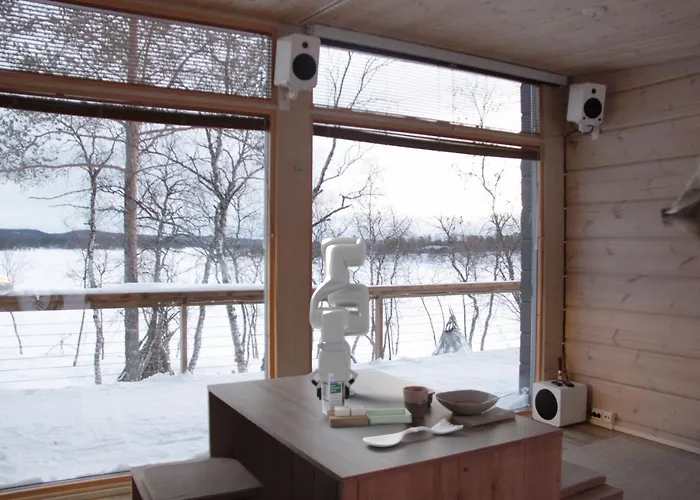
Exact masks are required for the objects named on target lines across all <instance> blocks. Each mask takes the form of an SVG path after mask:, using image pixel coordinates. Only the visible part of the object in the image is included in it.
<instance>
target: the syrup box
mask: <svg viewBox="0 0 700 500" xmlns="http://www.w3.org/2000/svg"><path fill="white" fill-rule="evenodd" d="M333 374H334V373H328V382H323V383H322V385H321V393H322V400H321V403H322V404H321V405H322V408H321V409H322V414H324V415H325V416H327V411H334V407H335V406H345V397H344V382H336V381H334V377H333V376H334V375H333Z"/></svg>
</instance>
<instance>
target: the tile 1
mask: <svg viewBox="0 0 700 500" xmlns="http://www.w3.org/2000/svg"><path fill="white" fill-rule="evenodd" d="M334 413H335V416H350V406H348V405H344V406H335V407H334Z"/></svg>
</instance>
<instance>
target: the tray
mask: <svg viewBox="0 0 700 500" xmlns="http://www.w3.org/2000/svg"><path fill="white" fill-rule="evenodd" d="M365 413H366V414H367V416H368V425H369V426H373V425H377V426H378V425H398V424H412V423H413V415H412V413H411V412H410V411H409V410H408V408H406V407H395V408H373V409H370V408H369V409H365Z"/></svg>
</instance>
